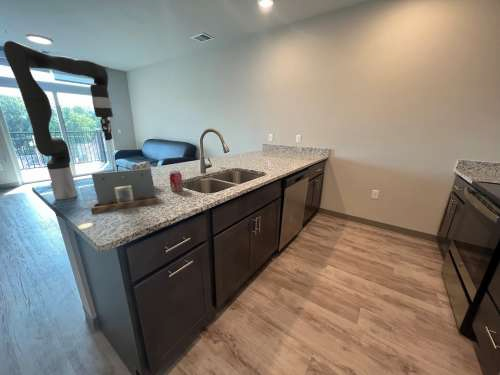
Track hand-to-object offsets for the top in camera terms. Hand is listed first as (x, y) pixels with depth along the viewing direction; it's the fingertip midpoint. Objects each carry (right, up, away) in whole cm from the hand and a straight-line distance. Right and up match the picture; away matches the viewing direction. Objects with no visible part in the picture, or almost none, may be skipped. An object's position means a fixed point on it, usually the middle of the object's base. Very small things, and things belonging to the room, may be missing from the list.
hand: (109, 139), depth 109 cm
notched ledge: (+12, -35, -4) cm, 37 cm away
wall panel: (+7, -32, +6) cm, 33 cm away
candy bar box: (+6, -26, +26) cm, 37 cm away
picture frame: (+12, -35, -4) cm, 37 cm away
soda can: (+29, -28, +20) cm, 45 cm away
